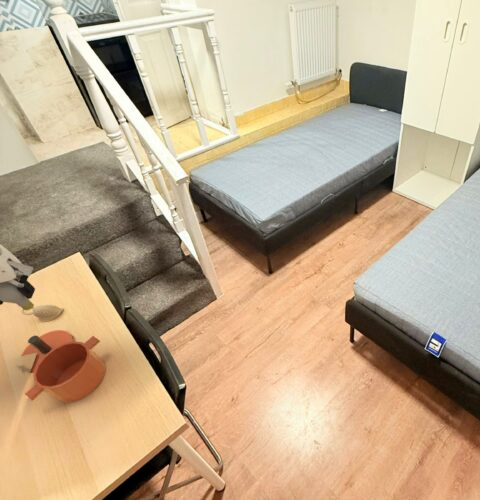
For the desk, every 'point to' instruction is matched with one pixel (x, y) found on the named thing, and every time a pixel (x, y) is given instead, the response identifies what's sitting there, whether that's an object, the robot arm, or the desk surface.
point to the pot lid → (46, 344)
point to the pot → (68, 372)
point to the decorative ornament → (45, 312)
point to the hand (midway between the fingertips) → (17, 296)
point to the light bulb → (14, 295)
